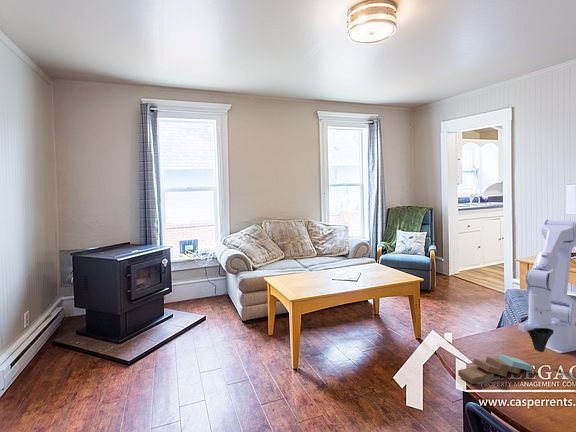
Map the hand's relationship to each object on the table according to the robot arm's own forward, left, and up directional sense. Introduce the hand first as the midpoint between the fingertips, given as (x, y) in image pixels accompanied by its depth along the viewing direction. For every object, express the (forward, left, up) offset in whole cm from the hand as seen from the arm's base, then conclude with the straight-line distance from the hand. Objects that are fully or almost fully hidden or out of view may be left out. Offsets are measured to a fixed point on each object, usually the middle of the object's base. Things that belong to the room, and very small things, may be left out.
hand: (539, 350), depth 107 cm
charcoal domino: (+19, 0, -5) cm, 19 cm away
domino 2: (+16, 0, -4) cm, 16 cm away
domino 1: (+21, 0, -3) cm, 21 cm away
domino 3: (+11, 0, -4) cm, 11 cm away
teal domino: (+6, 0, -4) cm, 7 cm away
